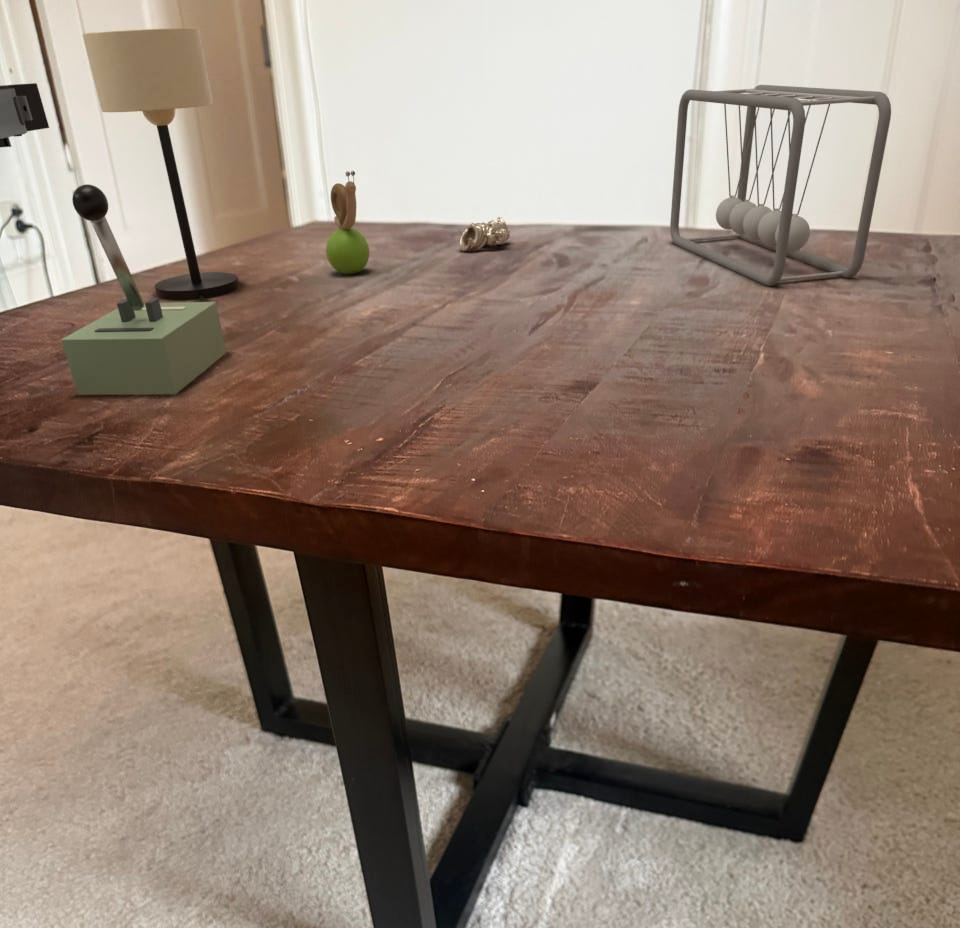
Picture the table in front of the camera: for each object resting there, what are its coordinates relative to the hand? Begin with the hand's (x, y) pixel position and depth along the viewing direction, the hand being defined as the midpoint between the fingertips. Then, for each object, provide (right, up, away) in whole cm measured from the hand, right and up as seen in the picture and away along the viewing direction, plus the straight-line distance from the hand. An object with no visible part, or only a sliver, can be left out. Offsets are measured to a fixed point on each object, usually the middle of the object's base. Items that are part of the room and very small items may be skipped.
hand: (33, 106), depth 62 cm
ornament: (+33, +17, +60) cm, 70 cm away
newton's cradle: (+66, +9, +46) cm, 81 cm away
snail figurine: (+15, +9, +50) cm, 53 cm away
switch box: (+2, -14, +18) cm, 23 cm away
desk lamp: (-2, +3, +43) cm, 43 cm away
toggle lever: (+2, -9, +15) cm, 17 cm away
